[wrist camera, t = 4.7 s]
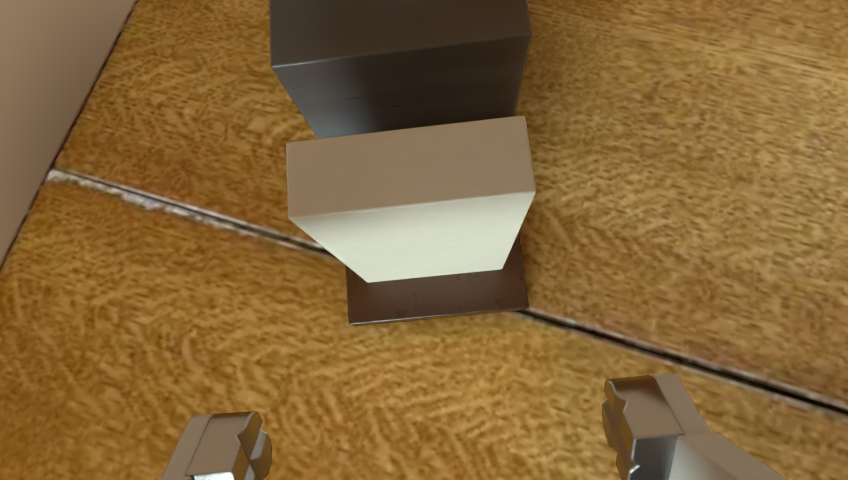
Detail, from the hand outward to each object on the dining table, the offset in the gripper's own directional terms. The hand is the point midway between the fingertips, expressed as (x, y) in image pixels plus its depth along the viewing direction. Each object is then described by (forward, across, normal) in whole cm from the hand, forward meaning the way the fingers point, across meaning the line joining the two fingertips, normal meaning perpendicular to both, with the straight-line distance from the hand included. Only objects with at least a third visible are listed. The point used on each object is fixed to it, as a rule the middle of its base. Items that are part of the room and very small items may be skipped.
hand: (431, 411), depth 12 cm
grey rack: (+17, 0, +1) cm, 17 cm away
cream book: (+12, 0, +4) cm, 13 cm away
